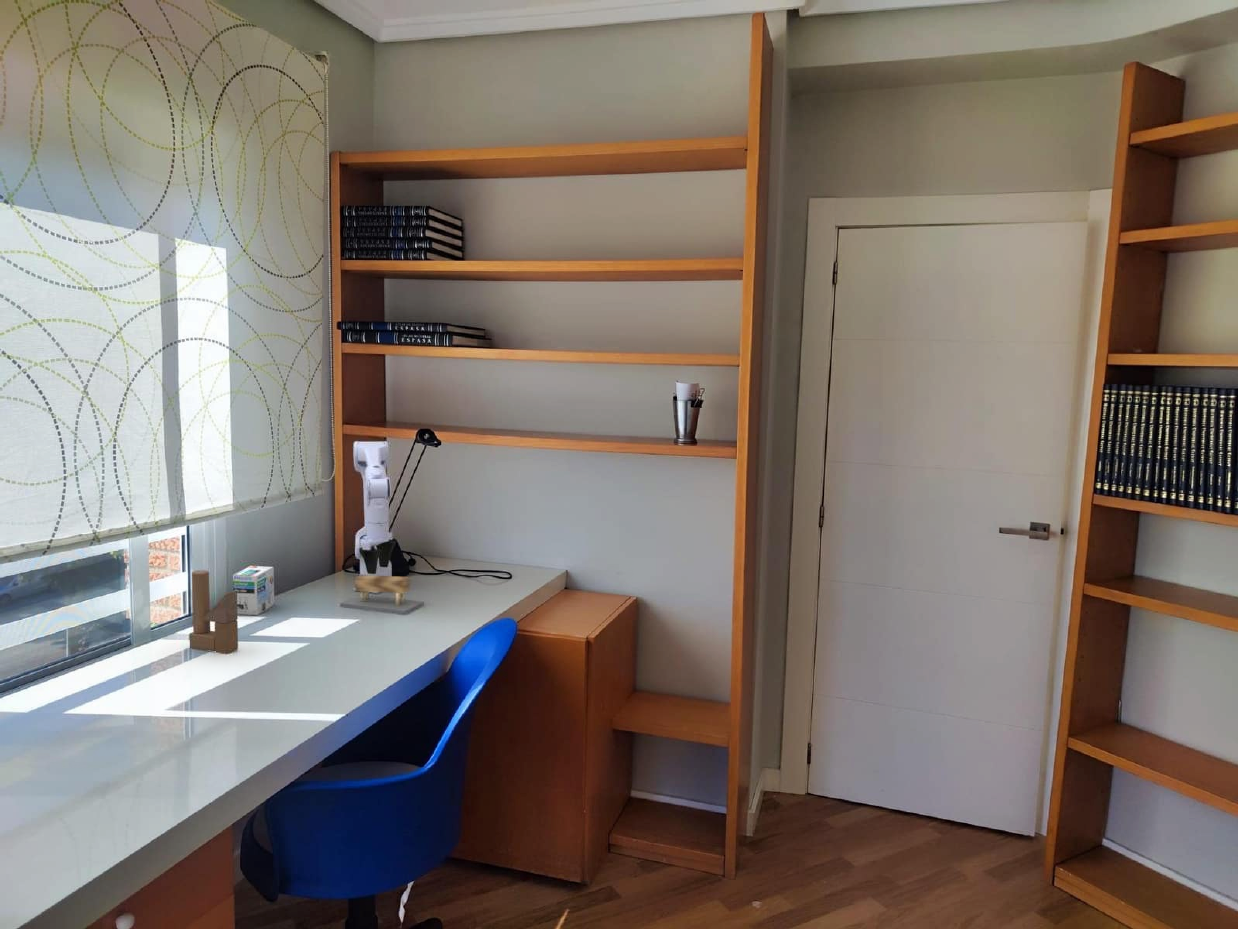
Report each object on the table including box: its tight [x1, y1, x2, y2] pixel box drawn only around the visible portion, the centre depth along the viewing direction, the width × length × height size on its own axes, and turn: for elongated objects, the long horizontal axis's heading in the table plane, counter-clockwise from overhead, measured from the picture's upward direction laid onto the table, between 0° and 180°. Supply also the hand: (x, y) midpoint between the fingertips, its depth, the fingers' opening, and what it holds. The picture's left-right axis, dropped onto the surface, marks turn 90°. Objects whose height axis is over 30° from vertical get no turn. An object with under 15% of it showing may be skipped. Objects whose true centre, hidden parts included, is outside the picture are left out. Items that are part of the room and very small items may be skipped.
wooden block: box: [189, 569, 239, 655], centre depth 195 cm, size 4×11×18 cm, turn 73°
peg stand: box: [339, 591, 425, 616], centre depth 234 cm, size 10×20×4 cm, turn 73°
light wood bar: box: [354, 574, 411, 594], centre depth 234 cm, size 14×4×4 cm, turn 84°
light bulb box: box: [232, 565, 275, 616], centre depth 227 cm, size 11×7×11 cm, turn 179°
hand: (377, 570), depth 234 cm, fingers open, 7 cm apart
